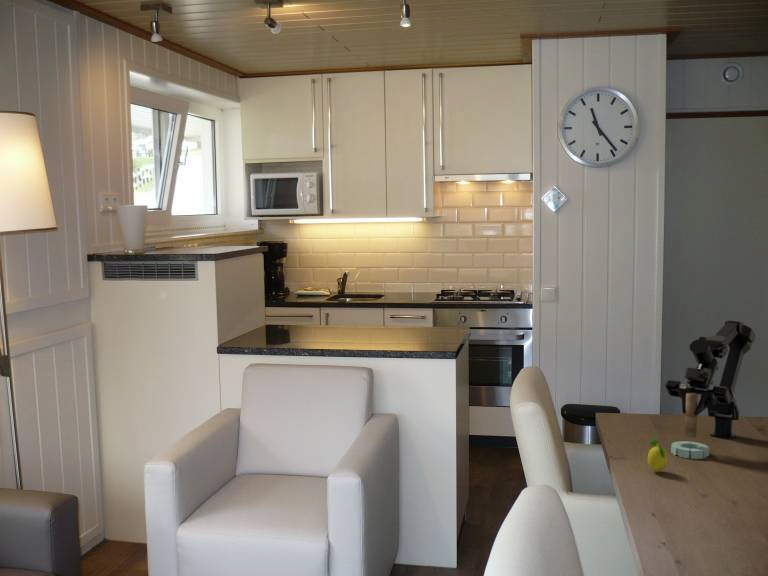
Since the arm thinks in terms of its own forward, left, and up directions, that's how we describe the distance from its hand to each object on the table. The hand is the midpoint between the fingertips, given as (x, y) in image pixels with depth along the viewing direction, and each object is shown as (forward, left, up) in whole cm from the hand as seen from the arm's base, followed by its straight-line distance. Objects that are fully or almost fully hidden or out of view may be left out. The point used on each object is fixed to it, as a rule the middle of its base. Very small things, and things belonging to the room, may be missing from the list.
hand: (689, 414), depth 253 cm
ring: (-1, 0, -13) cm, 13 cm away
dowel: (-1, 0, -7) cm, 7 cm away
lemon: (+23, 0, -13) cm, 26 cm away
